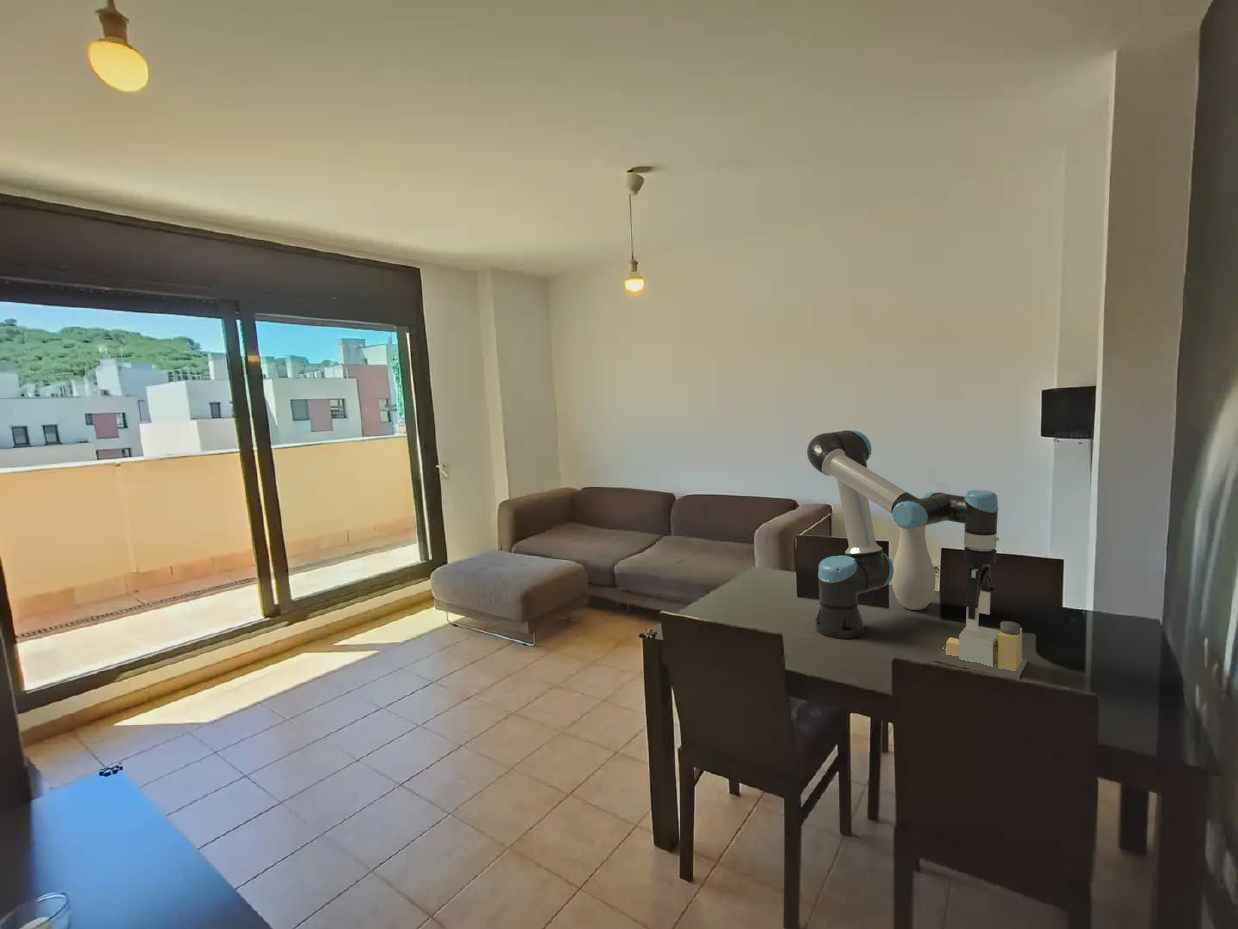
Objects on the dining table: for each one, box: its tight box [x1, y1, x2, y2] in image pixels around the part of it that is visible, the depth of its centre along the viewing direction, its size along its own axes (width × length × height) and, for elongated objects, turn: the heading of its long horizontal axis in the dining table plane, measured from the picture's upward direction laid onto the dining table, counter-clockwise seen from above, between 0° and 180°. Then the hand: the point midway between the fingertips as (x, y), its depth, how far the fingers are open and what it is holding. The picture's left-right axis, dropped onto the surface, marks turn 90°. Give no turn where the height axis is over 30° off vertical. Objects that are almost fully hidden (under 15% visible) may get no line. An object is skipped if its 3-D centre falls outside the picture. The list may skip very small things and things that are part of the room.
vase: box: [890, 526, 936, 611], centre depth 200 cm, size 14×14×30 cm
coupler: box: [945, 620, 1023, 671], centre depth 159 cm, size 17×8×12 cm, turn 46°
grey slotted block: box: [958, 625, 1000, 667], centre depth 160 cm, size 8×9×8 cm
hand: (978, 621), depth 160 cm, fingers open, 13 cm apart
